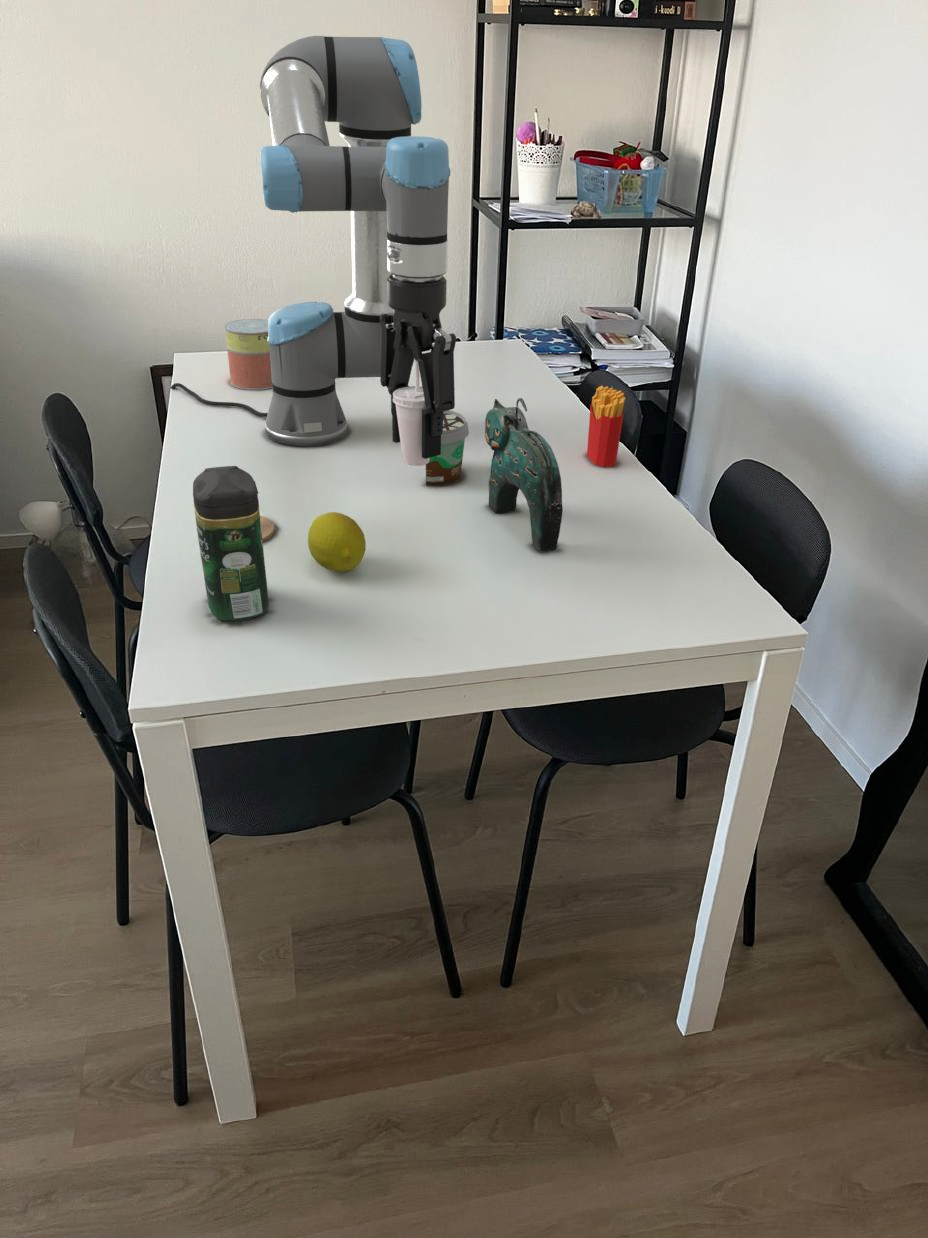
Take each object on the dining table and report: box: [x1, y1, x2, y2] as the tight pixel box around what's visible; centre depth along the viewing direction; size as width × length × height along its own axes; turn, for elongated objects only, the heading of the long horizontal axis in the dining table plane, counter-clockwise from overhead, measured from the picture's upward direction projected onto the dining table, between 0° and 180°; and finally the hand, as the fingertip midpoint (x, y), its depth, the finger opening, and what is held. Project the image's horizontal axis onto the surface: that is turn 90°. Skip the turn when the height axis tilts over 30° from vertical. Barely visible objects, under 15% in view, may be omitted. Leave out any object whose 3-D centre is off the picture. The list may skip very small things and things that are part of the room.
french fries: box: [586, 385, 626, 468], centre depth 169 cm, size 9×4×13 cm, turn 15°
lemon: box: [307, 511, 367, 573], centre depth 133 cm, size 11×8×8 cm
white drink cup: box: [393, 360, 434, 467], centre depth 128 cm, size 6×6×14 cm
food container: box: [425, 409, 470, 487], centre depth 161 cm, size 12×6×10 cm, turn 168°
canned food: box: [224, 318, 272, 391], centre depth 202 cm, size 11×11×12 cm
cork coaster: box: [260, 515, 276, 543], centre depth 144 cm, size 10×10×1 cm
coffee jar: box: [192, 465, 270, 622], centre depth 121 cm, size 10×8×19 cm
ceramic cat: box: [484, 397, 564, 553], centre depth 143 cm, size 20×6×20 cm, turn 23°
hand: (416, 447), depth 131 cm, fingers closed on white drink cup, 6 cm apart
